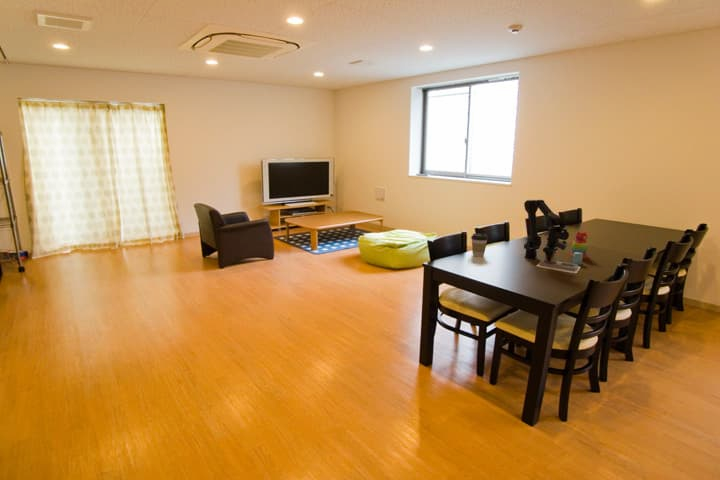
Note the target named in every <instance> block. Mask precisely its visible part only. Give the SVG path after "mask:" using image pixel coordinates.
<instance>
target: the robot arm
mask: <svg viewBox="0 0 720 480" xmlns="http://www.w3.org/2000/svg"><path fill="white" fill-rule="evenodd" d="M523 204H524V205H523V206H524V210H525V212H527V220H528V231H529V234H528V237H527V240H526V243H524V245H523V249H524V250H525V255H524V258H526V259H531V260H535V259H536V258H537V257H538V250H540V248H541V246H542V236H540V235H539V234H538V226H537V224H538V223H537V211H538V210H539V211H540V212H541V213H542V215H543V216H544V217H545V218H546V219H545V220H546V223H547V225H548V226H546V229H548V232H547V233H548V235H547V238H546V240H547V241H546V242H547V243H546V245H545V246H544V247H543V248H542V252H544V254H545V257H547V260H548V261H550V260H551V257H552V254H553V253H555V252H557V251H558V250H559V249H560V250H561V251H565V250H566V248H567V246H568V244H567V240H568V239H569V237H570V233H569V232H568V228H565V225H564V222H563V219H562V217H560V216H559V214H556V213H554V211H552V210H551V208H550V207H549V206H548V205H547V204H546V202H545V200H544V199H530V200H529V199H527V200H525V202H523ZM561 240H562V241H561Z"/></svg>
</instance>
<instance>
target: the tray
mask: <svg viewBox="0 0 720 480" xmlns="http://www.w3.org/2000/svg"><path fill="white" fill-rule="evenodd" d="M536 267H538V268H541V269H542V268H543V269H546V270H547V269H548V270H554V271H559V272H564V273H565V272H566V273H571V274H577V273H578V272H579V271H580V270H581V266H579V265H577V264H573V263H570V262H564V261H563V262H562V261H558V260H555V263H554V264H548V263H545V258H543V259H542V260H541V261H540V262H539V263H538V264H536Z"/></svg>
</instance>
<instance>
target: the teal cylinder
mask: <svg viewBox="0 0 720 480" xmlns="http://www.w3.org/2000/svg"><path fill="white" fill-rule="evenodd" d="M582 256H583V253H579V252H574V257H572V264H577V265H578V266H581V265H582V262H583V258H582Z"/></svg>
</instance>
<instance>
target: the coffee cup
mask: <svg viewBox="0 0 720 480" xmlns="http://www.w3.org/2000/svg"><path fill="white" fill-rule="evenodd" d="M487 235H488V234H485V233H479V232H478V233H473V234H472V235H471V237H470V238H471V253H472V256H473V257H475V258H484V256H485V252H486V248H487V243H488V240H489V237H488V236H487Z"/></svg>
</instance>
